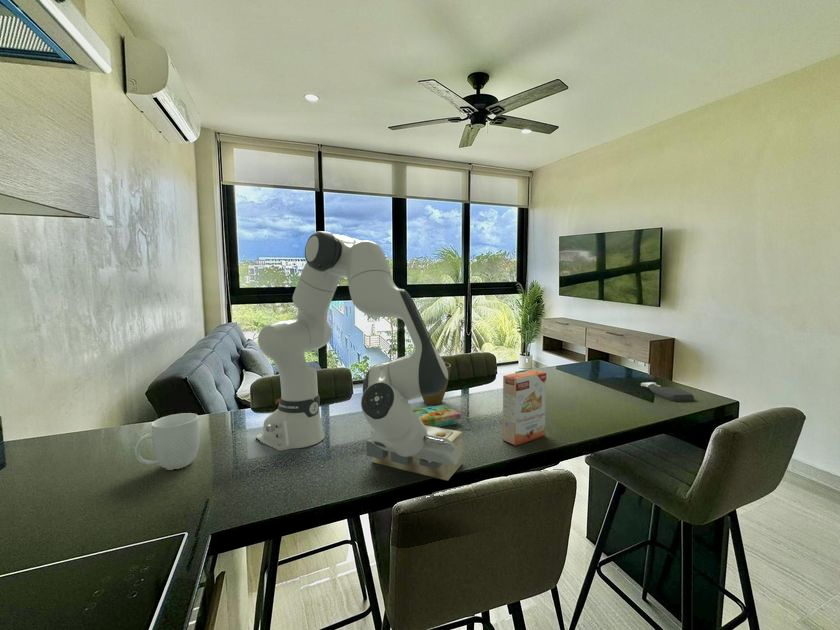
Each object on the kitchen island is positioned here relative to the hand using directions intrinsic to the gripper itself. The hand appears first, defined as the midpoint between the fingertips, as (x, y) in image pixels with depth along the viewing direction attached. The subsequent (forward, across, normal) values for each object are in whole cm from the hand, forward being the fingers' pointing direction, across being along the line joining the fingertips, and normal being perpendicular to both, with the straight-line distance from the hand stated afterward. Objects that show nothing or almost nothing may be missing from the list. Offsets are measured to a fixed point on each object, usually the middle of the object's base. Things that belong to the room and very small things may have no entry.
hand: (426, 458), depth 93 cm
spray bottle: (+84, -59, -76) cm, 128 cm away
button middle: (+2, +7, +1) cm, 8 cm away
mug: (-11, +67, +21) cm, 71 cm away
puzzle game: (+30, +18, -21) cm, 41 cm away
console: (+10, +7, -2) cm, 13 cm away
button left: (+2, +15, +1) cm, 15 cm away
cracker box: (+31, -16, -22) cm, 41 cm away
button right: (+3, 0, 0) cm, 3 cm away
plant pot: (+46, +27, -37) cm, 64 cm away
